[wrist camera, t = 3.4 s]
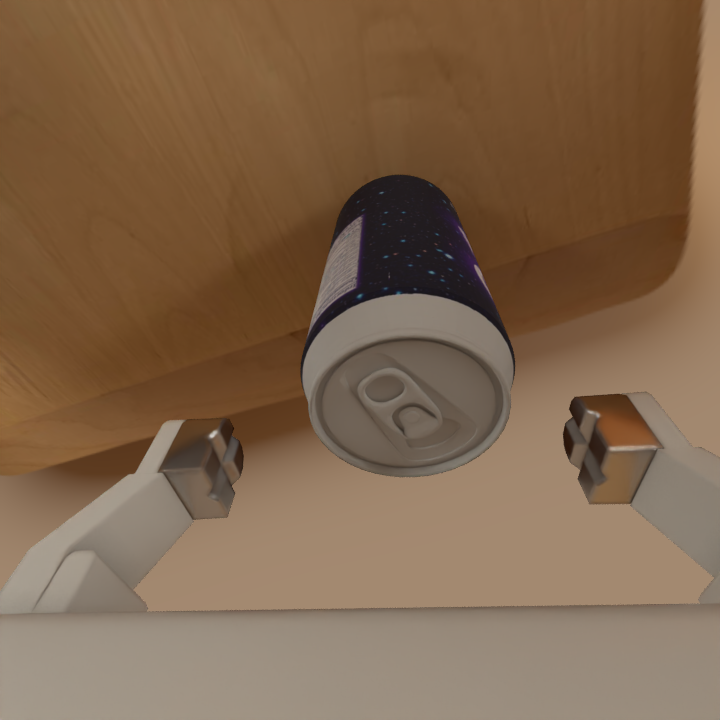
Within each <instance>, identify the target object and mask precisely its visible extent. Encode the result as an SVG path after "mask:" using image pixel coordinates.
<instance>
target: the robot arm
mask: <svg viewBox="0 0 720 720" xmlns="http://www.w3.org/2000/svg"><path fill="white" fill-rule="evenodd" d="M569 410H570V412H571V414H572V416H573V417H572V418H571V419H570V420H568V421H567V422H566V423H565V427H564V432H563V439H564V447H565V451H566V454H567V456H568V459H569V461H570V463H571V464H573V465H574V466H576V467H577V468H578V469H580V473H579V476H578V480H579V483H580V485H581V487H582V489H583V491H584V493H585V495H586V498H587V499H588V502H589V504H631V505H630V506H631V507H632V508H633V509H635V510H636V511H637V512H638V513H639V514H641V515H642V516H643V517H644V518H645V519H646V520H647V521H649V522H650V523H651V524H652V525H653V526H655V527H656V528H657V529H658V530H659V531H661V532H662V533H663V534H664V535H665V536H666V537H667V538H669V539H670V540H671V541H672V542H673V543H674V544H676V545H677V546H678V547H679V548H680V549H681V550H683V551H684V552H685V553H686V554H687V555H688V556H690V557H691V558H692V559H693V560H694V561H695V562H697V563H698V564H699V565H700V566H701V567H703V568H704V569H705V570H706V571H707V572H708V573H709V574H711V575H712V576H713V577H714V579H713V580H712V581H711V583H710V584H709V585H708V586H707V587H706V589H705V590H704V591H703V592H702V593H701V595H700V597H699V599H698V600H699V602H700V604H643V605H569V606H503V607H502V606H501V607H500V606H497V607H428V608H427V607H425V608H358V609H298V610H297V609H292V610H224V611H223V610H222V611H163V612H162V611H160V612H159V611H156V612H147V609H148V607H147V605H146V603H145V602H144V601H143V600H142V599H141V597H140V596H138V594H136V592H135V591H133V589H134V588H135V587H136V586H137V585H138V583H140V581H141V580H142V579H143V578H144V577H145V576H146V575H147V574H148V573H149V571H150V570H151V569H152V568H153V567H154V566H155V565H156V564H157V562H158V561H159V560H160V559H161V558H162V557H163V556H164V555H165V553H166V552H167V551H168V550H169V549H170V548H171V547H172V545H173V544H174V543H175V542H176V541H177V540H178V539H179V538H180V537H181V535H182V534H183V533H184V532H185V531H186V530H187V529H188V528H189V526H190V525H191V524H192V523H193V520H196V519H212V518H227V517H228V514H229V511H230V508H231V505H232V502H233V498H234V495H235V492H234V490H233V488H232V485H233V484H234V483H235V482H236V481H237V480H238V479H239V478H240V476H241V472H242V469H243V457H244V456H243V450H242V446H241V444H240V441H239V440H238V439H236V438H234V437H233V436H232V433H233V430H234V427H233V425H232V423H231V421H230V419H227V418H210V419H187V420H168V421H167V422H165V423H164V424H163V425H162V426H161V428H160V430H159V432H158V433H157V435H156V437H155V439H154V441H153V442H152V444H151V446H150V448H149V450H148V451H147V453H146V455H145V457H144V458H143V460H142V462H141V464H140V465H139V467H138V469H137V471H136V473H135V474H129V475H127V476H126V477H125V478H123V479H122V480H121V481H119V482H118V483H117V484H115V485H114V486H113V487H111V488H110V489H109V490H107V491H106V492H105V493H103V494H102V495H101V496H100V497H98V498H97V499H96V500H94V501H93V502H91V503H90V504H89V505H87V506H86V507H85V508H84V509H82V510H81V511H80V512H78V513H77V514H76V515H74V516H73V517H72V518H70V519H69V520H68V521H66V522H65V523H64V524H62V525H61V526H60V527H58V528H57V529H56V530H54V531H53V532H52V533H51V534H49V535H48V536H46V537H45V538H44V539H43V540H41V541H40V542H39V543H37V544H36V545H35V546H33V547H32V548H31V549H29V550H28V552H27V553H26V555H25V556H24V558H23V559H22V560H21V562H20V564H19V565H18V567H17V568H16V569H15V571H14V572H13V574H12V575H11V576H10V578H9V580H8V581H7V582H6V584H5V585H4V587H3V588H2V590H1V591H0V720H720V457H718V456H716V455H714V454H713V453H711V452H709V451H707V450H705V449H703V448H701V447H693V446H692V445H691V444H690V443H689V441H688V440H687V439H686V438H685V436H684V435H683V434H682V433H681V431H680V430H679V429H678V428H677V426H676V425H675V424H674V423H673V421H672V420H671V419H670V417H669V416H668V415H667V414H666V412H665V411H664V410H663V409H662V407H661V406H660V405H659V403H658V402H657V401H656V400H655V398H654V397H653V396H652V395H651V394H649V393H647V392H637V393H623V394H609V395H594V396H580V397H574V399H573V400H572V401H571V404H570V408H569Z"/></svg>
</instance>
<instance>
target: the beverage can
mask: <svg viewBox="0 0 720 720" xmlns="http://www.w3.org/2000/svg"><path fill="white" fill-rule="evenodd" d="M514 374H515V358H514V352H513V348H512V346H511V343H510V340H509V338H508V335H507V333H506V330H505V328H504V326H503V323H502V321H501V318H500V316H499V313H498V311H497V309H496V306H495V304H494V301H493V299H492V297H491V294H490V292H489V289H488V287H487V285H486V282H485V280H484V277H483V275H482V273H481V270H480V268H479V265H478V263H477V261H476V258H475V256H474V253H473V251H472V248H471V246H470V244H469V241H468V239H467V236H466V234H465V232H464V229H463V227H462V224H461V222H460V220H459V217H458V215H457V212H456V210H455V208H454V206H453V204H452V203H451V201H450V200H449V198H448V197H447V196H446V195H445V194H444V193H443V192H442V191H441V190H440V189H439V188H438V187H436V186H435V185H433V184H432V183H430V182H428V181H426V180H424V179H421V178H418V177H414V176H409V175H391V176H385V177H381V178H378V179H376V180H373V181H371V182H369V183H367V184H366V185H364V186H362V187H361V188H360V189H358V190H357V191H356V192H355V193H354V194H353V195H352V196H351V197H350V198H349V199H348V201H347V202H346V203H345V205H344V207H343V208H342V210H341V212H340V214H339V217H338V220H337V223H336V227H335V231H334V235H333V239H332V242H331V246H330V250H329V254H328V258H327V262H326V266H325V270H324V274H323V277H322V281H321V285H320V289H319V293H318V297H317V301H316V305H315V308H314V312H313V316H312V320H311V324H310V328H309V332H308V336H307V340H306V343H305V347H304V351H303V355H302V360H301V382H302V387H303V390H304V393H305V396H306V398H307V400H308V409H309V415H310V420H311V424H312V426H313V428H314V430H315V432H316V434H317V436H318V437H319V439H320V440H321V442H322V443H323V444H324V445H325V446H326V447H327V448H328V449H329V450H330V451H331V452H332V453H334V454H335V455H336V456H337V457H339V458H340V459H342V460H344V461H345V462H347V463H349V464H351V465H353V466H355V467H357V468H360V469H362V470H365V471H368V472H372V473H375V474H381V475H386V476H395V477H420V476H429V475H434V474H438V473H443V472H446V471H449V470H452V469H455V468H458V467H460V466H462V465H464V464H467V463H469V462H470V461H472V460H473V459H475V458H477V457H479V456H480V455H481V454H482V453H484V452H485V451H486V450H487V449H489V448H490V447H491V446H492V444H493V443H494V442H495V441H496V440H497V439H498V438H499V436H500V434H501V433H502V432H503V430H504V428H505V426H506V423H507V421H508V419H509V414H510V408H511V395H510V390H511V387H512V384H513V380H514Z"/></svg>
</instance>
